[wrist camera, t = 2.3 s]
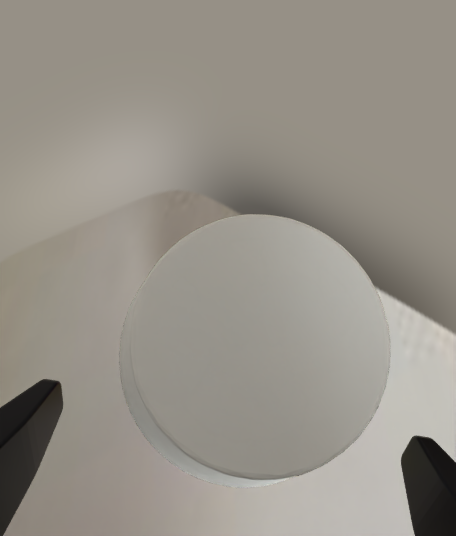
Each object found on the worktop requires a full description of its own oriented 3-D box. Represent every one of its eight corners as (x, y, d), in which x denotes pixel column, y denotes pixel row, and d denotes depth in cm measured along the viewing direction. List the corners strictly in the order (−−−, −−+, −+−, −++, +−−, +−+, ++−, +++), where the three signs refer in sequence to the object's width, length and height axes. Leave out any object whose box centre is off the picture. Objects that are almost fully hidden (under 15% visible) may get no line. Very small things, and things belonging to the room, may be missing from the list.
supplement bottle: (148, 316, 19) (42, 203, 7) (269, 284, 20) (364, 133, 8) (178, 452, 17) (107, 624, 5) (310, 411, 18) (516, 474, 6)
